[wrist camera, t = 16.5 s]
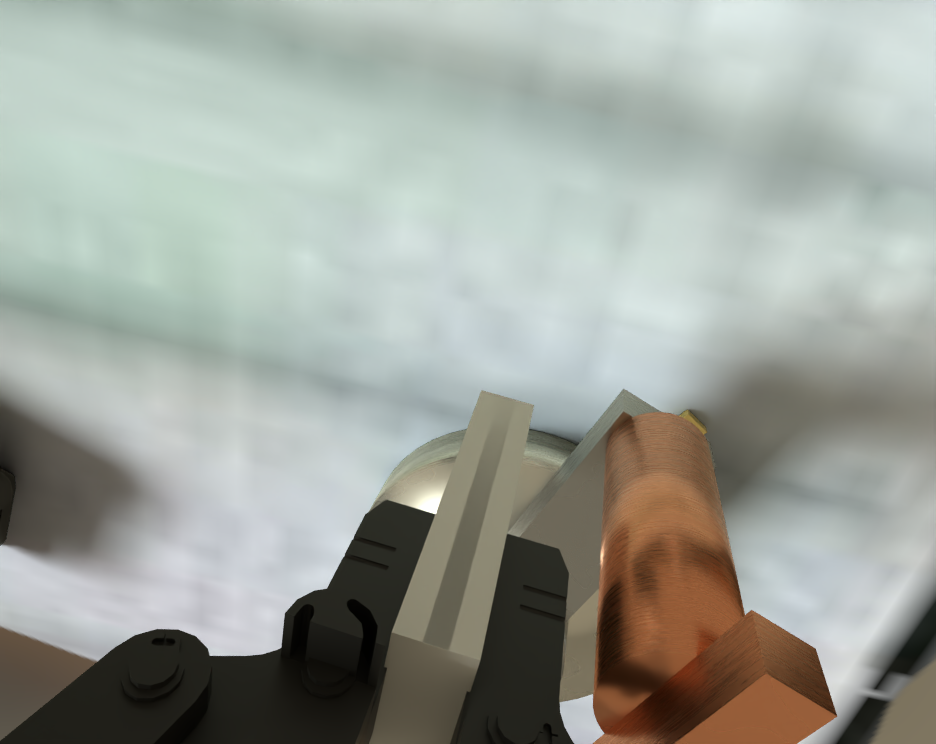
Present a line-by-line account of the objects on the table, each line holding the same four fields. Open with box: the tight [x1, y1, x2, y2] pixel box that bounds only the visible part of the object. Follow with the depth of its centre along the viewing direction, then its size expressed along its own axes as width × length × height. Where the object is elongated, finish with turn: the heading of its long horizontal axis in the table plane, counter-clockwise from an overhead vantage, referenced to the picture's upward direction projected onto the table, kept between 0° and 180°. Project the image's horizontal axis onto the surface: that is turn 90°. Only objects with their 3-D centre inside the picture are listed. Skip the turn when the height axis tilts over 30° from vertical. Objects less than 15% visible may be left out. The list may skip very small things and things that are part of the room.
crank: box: [507, 389, 837, 744], centre depth 15 cm, size 12×4×10 cm, turn 151°
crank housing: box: [369, 409, 707, 702], centre depth 22 cm, size 10×12×2 cm
